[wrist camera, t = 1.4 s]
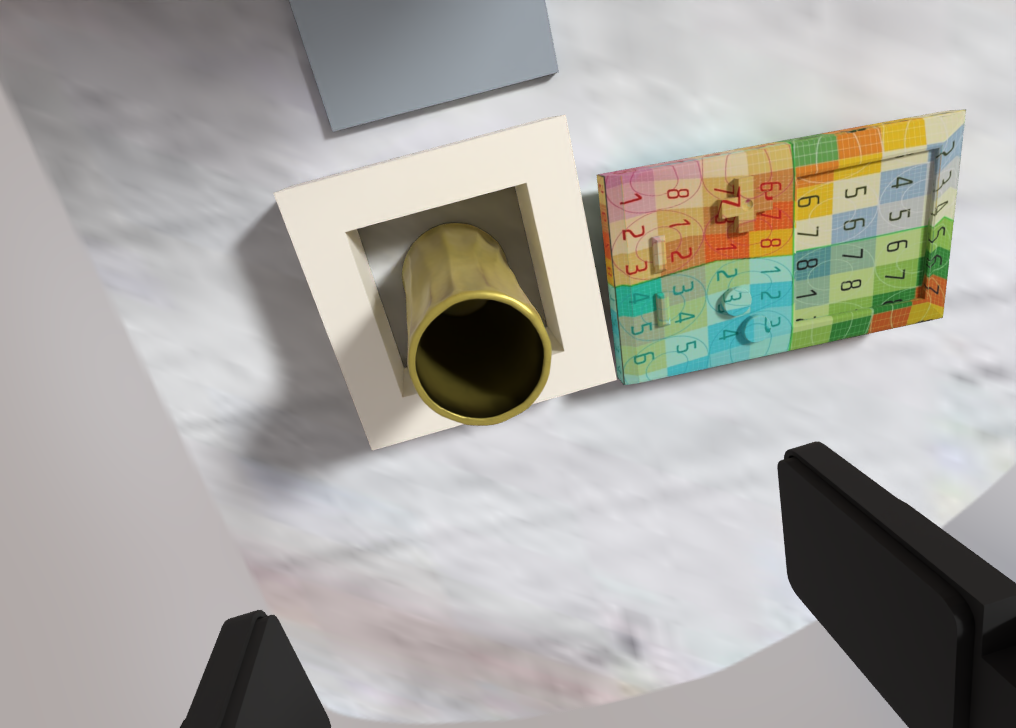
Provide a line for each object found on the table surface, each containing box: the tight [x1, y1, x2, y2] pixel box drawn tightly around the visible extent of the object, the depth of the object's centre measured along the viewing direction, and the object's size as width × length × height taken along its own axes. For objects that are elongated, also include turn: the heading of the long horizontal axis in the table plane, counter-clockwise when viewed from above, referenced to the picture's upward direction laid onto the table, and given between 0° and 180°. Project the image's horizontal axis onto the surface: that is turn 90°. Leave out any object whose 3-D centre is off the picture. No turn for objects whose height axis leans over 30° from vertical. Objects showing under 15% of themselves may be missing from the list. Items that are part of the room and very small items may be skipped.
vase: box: [402, 223, 552, 426], centre depth 28 cm, size 6×6×14 cm
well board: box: [274, 115, 617, 451], centre depth 33 cm, size 14×14×4 cm
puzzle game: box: [597, 110, 966, 385], centre depth 35 cm, size 12×5×20 cm
